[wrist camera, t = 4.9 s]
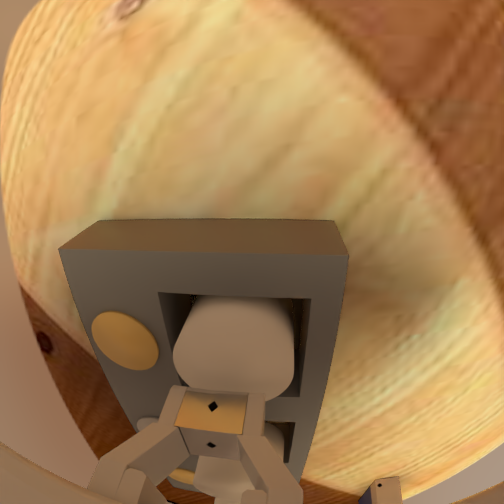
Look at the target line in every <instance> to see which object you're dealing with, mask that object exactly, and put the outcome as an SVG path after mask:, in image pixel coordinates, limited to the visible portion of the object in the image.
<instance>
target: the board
mask: <svg viewBox="0 0 504 504" xmlns="http://www.w3.org/2000/svg"><path fill="white" fill-rule="evenodd" d="M58 250H59V253H60V257H61V260H62V264H63V267H64V271H65V274H66V277H67V280H68V284H69V287H70V290H71V293H72V296H73V298H74V301H75V304H76V307H77V310H78V312H79V315H80V318H81V320H82V323H83V325H84V328H85V331H86V333H87V335H88V338H89V340H90V343H91V345H92V347H93V350H94V352H95V354H96V356H97V359H98V361H99V363H100V365H101V367H102V369H103V372H104V374H105V376H106V378H107V380H108V382H109V384H110V386H111V388H112V390H113V392H114V394H115V396H116V397H117V399H118V401H119V403H120V405H121V407H122V408H123V410H124V412H125V414H126V416H127V417H128V419H129V421H130V423H131V424H132V426H133V428H134V429H135V431H136V433H138V432H140V431H141V430H143V429H144V428H146V427H147V426H148V425H150V424H151V423H153V422H154V423H157V422H158V420H159V417H160V414H161V412H162V409H163V407H164V404H165V401H166V399H167V396H168V394H169V391H170V389H171V387H172V386H173V385H178V386H185V387H190V386H189V385H188V384H187V383H186V382H185V381H184V380H183V379H182V378H181V377H180V375H179V374H178V372H177V370H176V368H175V365H174V362H173V350H174V346H175V344H176V342H177V339H178V337H179V335H180V333H181V330H182V328H183V326H184V324H185V322H186V319H187V317H188V315H189V313H190V311H191V301H190V295H189V294H198V295H217V296H239V297H267V298H303V309H302V321H301V332H300V343H299V349H294V375H293V379H292V381H291V383H290V385H289V386H288V388H287V389H286V390H285V391H284V392H282V393H281V394H280V395H278V396H277V397H275V398H273V399H271V400H268V401H265V421H277V422H290V424H272V425H274V426H275V427H277V428H278V429H280V430H281V431H282V433H283V434H284V456H283V463H284V464H285V465H286V467H287V468H288V470H289V471H290V473H291V474H292V475H293V477H294V478H295V480H296V481H297V482H298V484H299V482H300V479H301V476H302V473H303V469H304V466H305V463H306V460H307V456H308V453H309V450H310V446H311V443H312V439H313V436H314V432H315V428H316V425H317V421H318V417H319V413H320V409H321V405H322V401H323V397H324V393H325V389H326V384H327V380H328V375H329V371H330V366H331V361H332V357H333V352H334V347H335V341H336V336H337V331H338V325H339V319H340V314H341V308H342V301H343V295H344V288H345V281H346V274H347V267H348V259H349V254H348V252H347V249H346V247H345V245H344V242H343V240H342V238H341V236H340V233H339V231H338V229H337V226H336V224H335V222H334V221H321V220H277V219H152V220H109V221H97V222H96V223H94V224H93V225H91V226H90V227H88V228H87V229H85V230H84V231H82V232H81V233H80V234H78V235H77V236H75V237H74V238H72V239H71V240H70V241H68V242H67V243H66V244H64V245H63V246H61V247H60V248H59V249H58ZM189 455H190V456H189V457H188V458H187V459H186V460H185V461H184V462H182V463H181V464H180V465H179V466H178V467H177V468H176V469H175V470H174V471H173V472H172V473H171V474H170V475H168V476H167V477H166V478H167V479H168V480H169V482H170V483H171V484H172V486H173V487H176V488H181V489H185V490H191V491H196V492H201V491H199V490H198V489H196V488H195V487H194V485H193V479H194V475H195V471H196V467H197V463H198V459H199V455H192V454H189ZM202 493H203V492H202Z"/></svg>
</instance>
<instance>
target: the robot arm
mask: <svg viewBox="0 0 504 504" xmlns="http://www.w3.org/2000/svg"><path fill="white" fill-rule="evenodd" d="M264 429H265V394H264V393H249V392H232V391H219V390H218V391H213V390H206V389H198V388H192V387H185V386H178V385H173V386H172V387H171V389H170V391H169V394H168V396H167V399H166V401H165V404H164V407H163V409H162V412H161V414H160V417H159V420H158V422H157V423H154V422H153V423H151V424H150V425H148V426H147V427H146V428H144V429H143V430H141V431H140V432H138V433H137V434H135V435H134V436H133V437H131V438H130V439H128V440H127V441H125V442H124V443H122V444H121V445H119V446H118V447H116V448H115V449H113V450H111V451H110V452H108V453H107V454H105V455H104V456H102V457H101V458H100V461H99V463H98V465H97V467H96V470H95V472H94V474H93V476H92V478H91V481H90V483H89V485H88V487H87V489H85V488H83V487H81V486H78V485H76V484H74V483H72V482H70V481H67V480H66V479H63V478H61V477H59V476H57V475H55V474H54V473H52V472H50V471H48V470H46V469H44V468H42V467H41V466H39V465H37V464H35V463H34V462H32V461H30V460H28V459H27V458H25V457H23V456H22V455H20V454H18V453H17V452H15V451H14V450H12V449H11V448H9V447H8V446H6V445H5V444H3V443H2V442H0V504H172V503H170V502H167V500H166V498H165V497H164V496H163V495H162V494H161V492H160V491H159V490H158V489H157V488H156V486H157V485H158V484H160V483H161V482H162V481H163V480H164V479H165V478H166V477H167V476H168V475H170V474H171V473H172V472H173V471H174V470H175V469H176V468H177V467H178V466H179V465H180V464H181V463H182V462H184V461H185V460H186V459H187V458H188V457H189V456H190V455H189V454H192V455H199V456H208V457H216V458H223V459H231V460H240V462H241V464H242V466H243V468H244V469H245V471H246V473H247V475H248V477H249V479H250V481H251V482H252V484H253V486H254V488H255V490H248V489H247V490H246V491H244V492H243V493H242V497H241V503H240V504H303V489H302V488H301V487H300V485H299V484H298V482H297V481H296V480H295V478H294V477H293V475H292V474H291V473H290V471H289V470H288V468H287V467H286V465H285V464H284V463H283V461H282V460H281V458H280V457H279V455H278V454H277V452H276V451H275V449H274V448H273V446H272V445H271V443H270V442H269V440H268V439H267V437H265V436H264ZM451 504H504V481H503V482H501V483H499V484H497V485H495V486H492V487H490V488H488V489H486V490H483V491H481V492H479V493H476V494H474V495H472V496H469V497H467V498H464V499H461V500H459V501H456V502H453V503H451Z"/></svg>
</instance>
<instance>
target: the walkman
mask: <svg viewBox="0 0 504 504" xmlns="http://www.w3.org/2000/svg"><path fill="white" fill-rule="evenodd" d="M359 504H403V503H402V496H401V489H400V482H399V476H398V477H392V478H384V479H378V480H375V481H374V482H373V483H372V484H371V486H370V487H369V489H368V490H367V491H366V492H365V494H364V495H363V496H362V497H361V498H360V500H359Z"/></svg>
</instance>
